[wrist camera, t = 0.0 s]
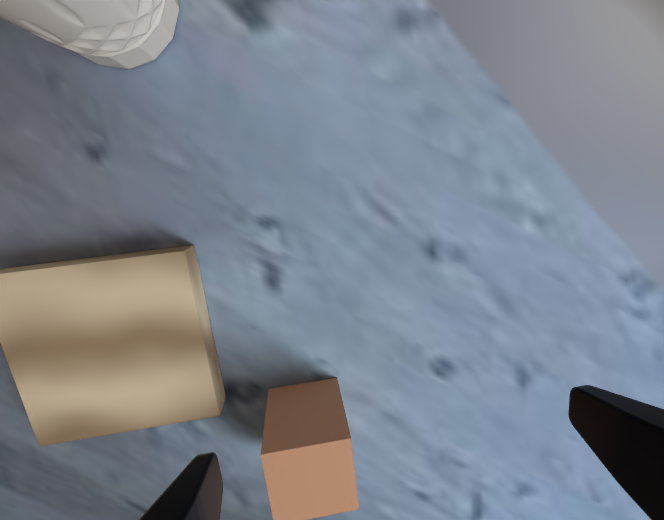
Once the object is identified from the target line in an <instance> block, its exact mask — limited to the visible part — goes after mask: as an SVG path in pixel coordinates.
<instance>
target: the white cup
mask: <svg viewBox="0 0 664 520" xmlns="http://www.w3.org/2000/svg"><path fill="white" fill-rule="evenodd" d="M178 13H179V6H178V1H177V0H0V18H1V19H3V20H5V21H8V22H10V23H12V24H14V25H16V26H18V27H21V28H23V29H25V30H27V31H29V32H31V33H33V34H35V35H37V36H39V37H41V38H43V39H45V40H47V41H49V42H51V43H53V44H56V45H59V46H61V47H64V48H67V49H70V50H72V51H74V52H76V53H78V54H80V55H81V56H83V57H85V58H87V59H89V60H91V61H92V62H94V63H96V64H98V65H102V66H110V67H117V68H124V69H131V68H134V67H137V66H140V65H142V64H145V63H148V62H151V61H153V60H155V59H156V58H157V57H158V56H159V55H160V54H161V52H162V51H163V50H164V49H165V48H166V46H167V45H168V44H169V43H170V42H171V41H172V39H173V36H174V32H175V27H176V22H177V18H178Z"/></svg>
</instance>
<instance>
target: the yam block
mask: <svg viewBox="0 0 664 520" xmlns="http://www.w3.org/2000/svg"><path fill="white" fill-rule="evenodd" d="M261 459H262V464H263V469H264V475H265V480H266V485H267V490H268V496H269V501H270V506H271V511H272V517H273V520H308V519H312V518H317V517H322V516H327V515H332V514H337V513H342V512H347V511H352V510H357V509H359V505H358V496H357V487H356V478H355V469H354V460H353V451H352V442H351V436H350V432H349V427H348V423H347V419H346V414H345V410H344V406H343V401H342V397H341V393H340V388H339V384H338V380H337V378H332V379H326V380H320V381H314V382H308V383H302V384H296V385H290V386H283V387H277V388H271V389H268V397H267V405H266V414H265V422H264V431H263V439H262V448H261Z"/></svg>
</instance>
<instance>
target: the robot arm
mask: <svg viewBox="0 0 664 520" xmlns="http://www.w3.org/2000/svg"><path fill="white" fill-rule="evenodd" d="M569 419H570V421H571V423H572V425H573V426H574V428H575V429H576V430H577V431H578V433H579V434H580V435H581V437H582V438H583V439H584V440H585V442H586V443H587V444H588V445H589V447H590V448H591V449H592V450H593V452H594V453H595V454H596V456H597V457H598V458H599V459H600V461H601V462H602V463H603V464H604V466H605V467H606V468H607V470H608V471H609V472H610V473H611V475H612V476H613V477H614V478H615V479H616V481H617V482H618V483H619V484H620V486H621V487H622V488H623V489H624V490H625V491H626V492H627V493H628V495H629V496H630V497H631V498H632V499H633V500H634V501H635V502H636V503H637V504H638V506H639V507H640V508H641V509H642V510H643V511H644V512H645V513H646V514H647V515H648V516H649V518H650V519H651V520H664V409H661V408H658V407H655V406H652V405H649V404H646V403H643V402H639V401H636V400H633V399H630V398H627V397H624V396H621V395H618V394H615V393H612V392H609V391H606V390H603V389H600V388H597V387H593V386H590V385H584V386H578V387H574V388H572V389H571V391H570V400H569ZM222 494H223V481H222V476H221V472H220V467H219V463H218V458H217V456H216V454H215V453H213V452H211V453H205V454H200V455H197V456H196V457H195V458H194V459H193V460H192V461H191V462H190V463H189V464H188V466H187V467H186V468H185V469H184V470H183V471H182V472H181V473H180V474H179V476H178V477H177V478H176V479H175V480H174V481H173V482H172V483H171V485H170V486H169V487H168V488H167V489H166V490H165V491H164V492H163V494H162V495H161V496H160V497H159V498H158V499H157V500H156V501H155V502H154V504H153V505H152V506H151V507H150V508H149V509H148V510H147V511H146V513H145V514H144V515H143V516H142V517H141V518H140V519H139V520H220V511H221V502H222Z"/></svg>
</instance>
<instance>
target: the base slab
mask: <svg viewBox="0 0 664 520" xmlns="http://www.w3.org/2000/svg"><path fill="white" fill-rule="evenodd" d="M0 343H1V346H2V348H3V351H4V354H5V356H6V359H7V362H8V364H9V367H10V370H11V372H12V375H13V378H14V380H15V383H16V386H17V388H18V391H19V394H20V396H21V399H22V402H23V404H24V407H25V409H26V412H27V415H28V417H29V420H30V423H31V425H32V428H33V431H34V433H35V436H36V439H37V441H38V444H39V446H44V445H50V444H56V443H61V442H67V441H73V440H79V439H85V438H91V437H97V436H103V435H109V434H114V433H120V432H126V431H132V430H138V429H144V428H150V427H156V426H161V425H167V424H173V423H179V422H185V421H191V420H197V419H203V418H208V417H214V416H220V414H221V410H222V407H223V404H224V401H225V398H226V395H225V390H224V385H223V380H222V376H221V371H220V366H219V361H218V357H217V352H216V347H215V342H214V338H213V333H212V328H211V323H210V318H209V314H208V309H207V304H206V299H205V295H204V290H203V285H202V280H201V276H200V271H199V266H198V261H197V256H196V252H195V247H194V245H188V246H180V247H172V248H164V249H156V250H148V251H140V252H132V253H124V254H116V255H107V256H99V257H91V258H83V259H75V260H67V261H59V262H51V263H43V264H35V265H27V266H19V267H11V268H5V269H1V270H0Z"/></svg>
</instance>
